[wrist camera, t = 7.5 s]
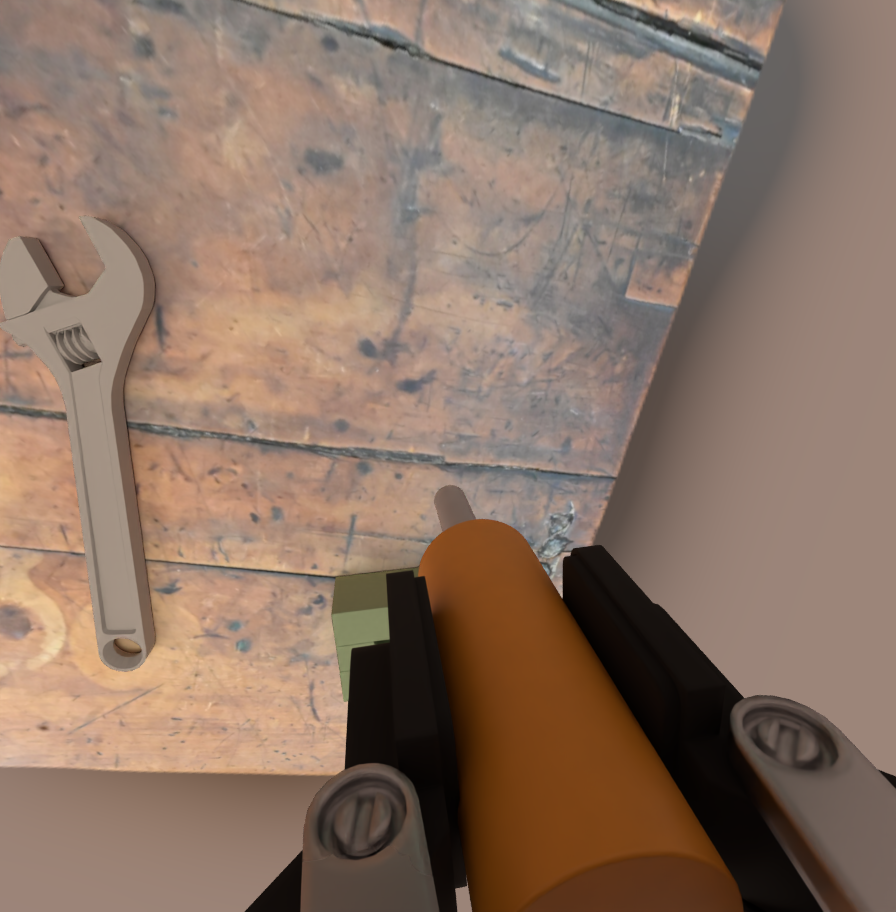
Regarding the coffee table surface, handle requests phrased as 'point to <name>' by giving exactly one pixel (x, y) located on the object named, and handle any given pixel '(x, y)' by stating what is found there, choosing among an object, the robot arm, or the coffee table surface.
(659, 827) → the orange handle
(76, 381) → the adjustable wrench
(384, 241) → the coffee table surface
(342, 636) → the holder
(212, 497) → the coffee table surface
